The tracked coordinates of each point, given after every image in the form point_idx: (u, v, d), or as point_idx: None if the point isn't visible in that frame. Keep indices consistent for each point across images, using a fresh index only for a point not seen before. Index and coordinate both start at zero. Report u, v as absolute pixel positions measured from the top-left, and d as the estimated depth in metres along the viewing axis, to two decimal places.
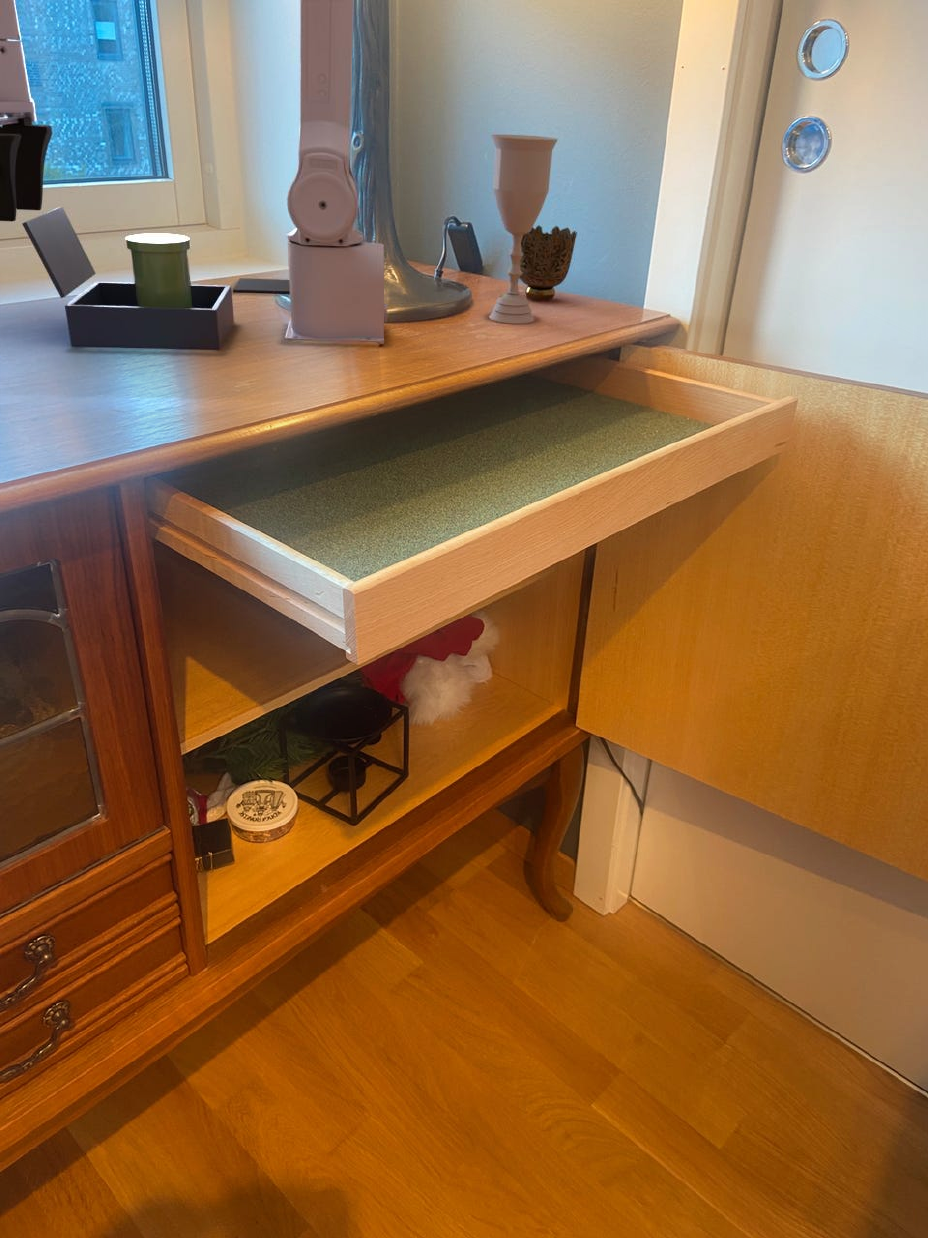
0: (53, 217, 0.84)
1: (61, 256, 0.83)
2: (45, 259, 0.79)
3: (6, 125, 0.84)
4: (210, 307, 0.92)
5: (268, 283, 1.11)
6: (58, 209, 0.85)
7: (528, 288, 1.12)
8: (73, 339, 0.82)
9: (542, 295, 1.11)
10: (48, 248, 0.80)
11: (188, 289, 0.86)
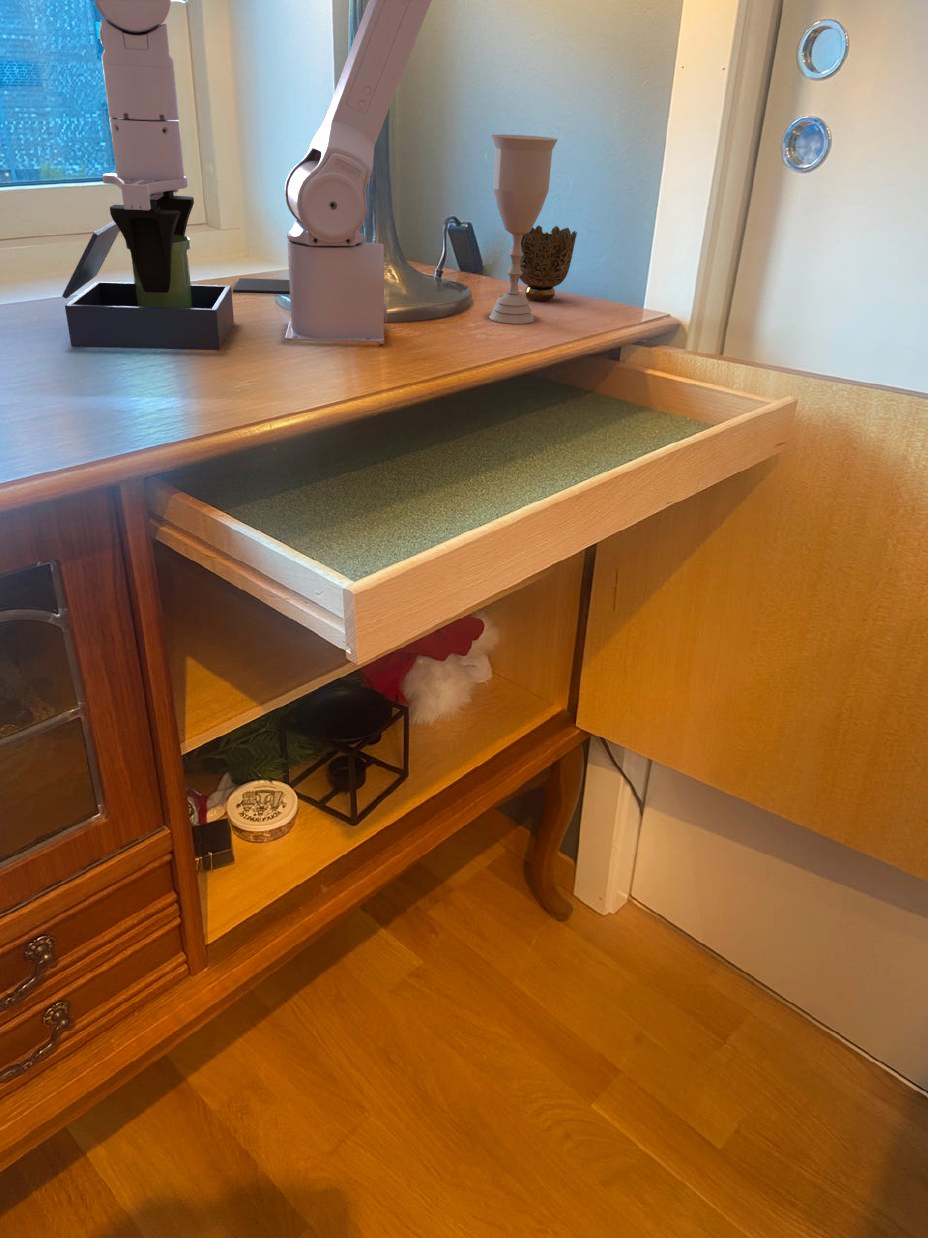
0: (114, 228, 0.85)
1: (91, 262, 0.83)
2: (81, 266, 0.80)
3: None
4: (210, 307, 0.92)
5: (268, 283, 1.11)
6: None
7: (528, 288, 1.12)
8: (73, 339, 0.82)
9: (542, 295, 1.11)
10: (90, 256, 0.81)
11: (188, 289, 0.86)
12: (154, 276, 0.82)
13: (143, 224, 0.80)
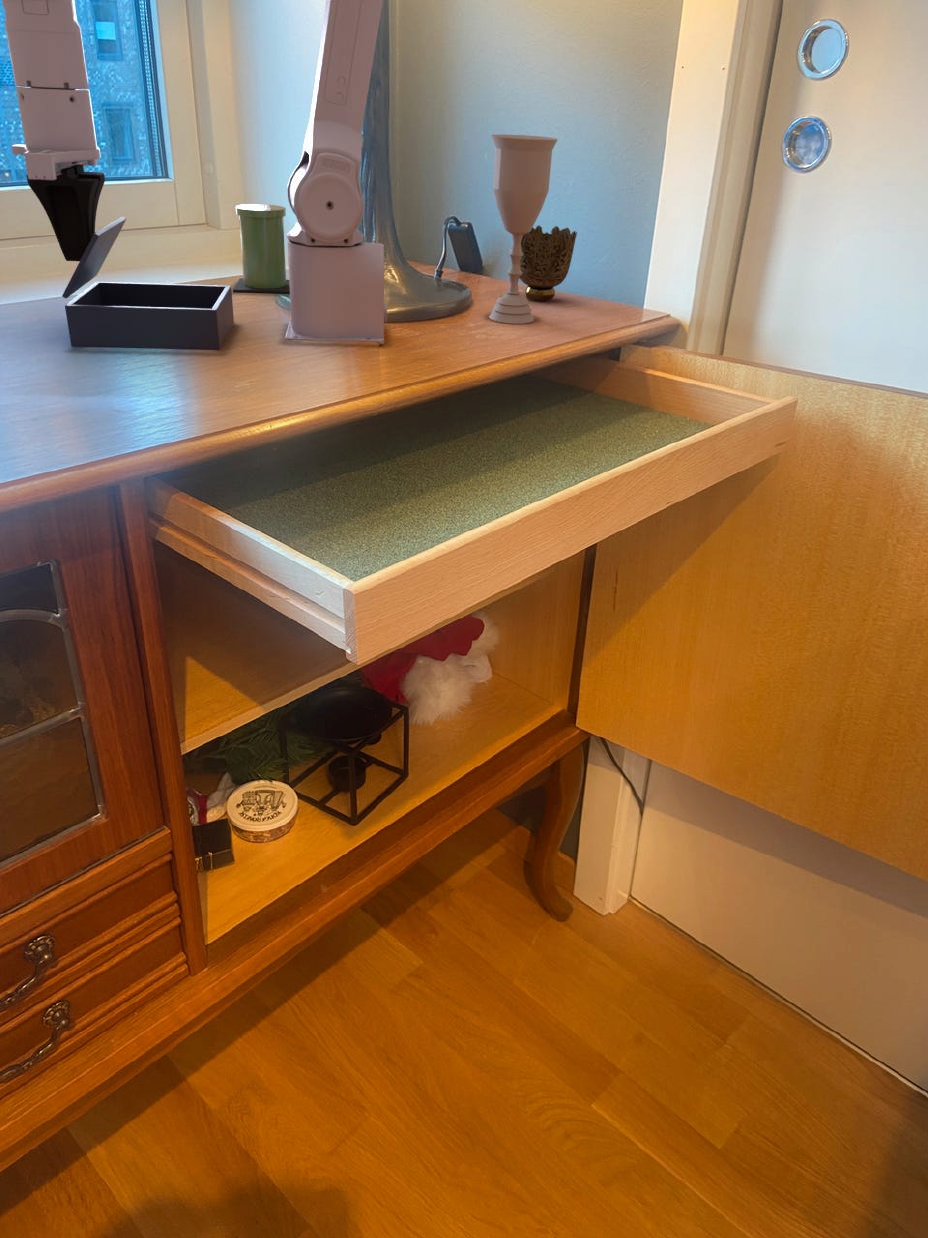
0: (114, 229, 0.85)
1: (92, 263, 0.83)
2: (82, 266, 0.80)
3: None
4: (210, 307, 0.92)
5: None
6: (122, 221, 0.86)
7: (528, 288, 1.12)
8: (73, 339, 0.82)
9: (542, 295, 1.11)
10: (91, 257, 0.81)
11: (283, 248, 1.08)
12: (75, 245, 0.83)
13: (62, 192, 0.81)
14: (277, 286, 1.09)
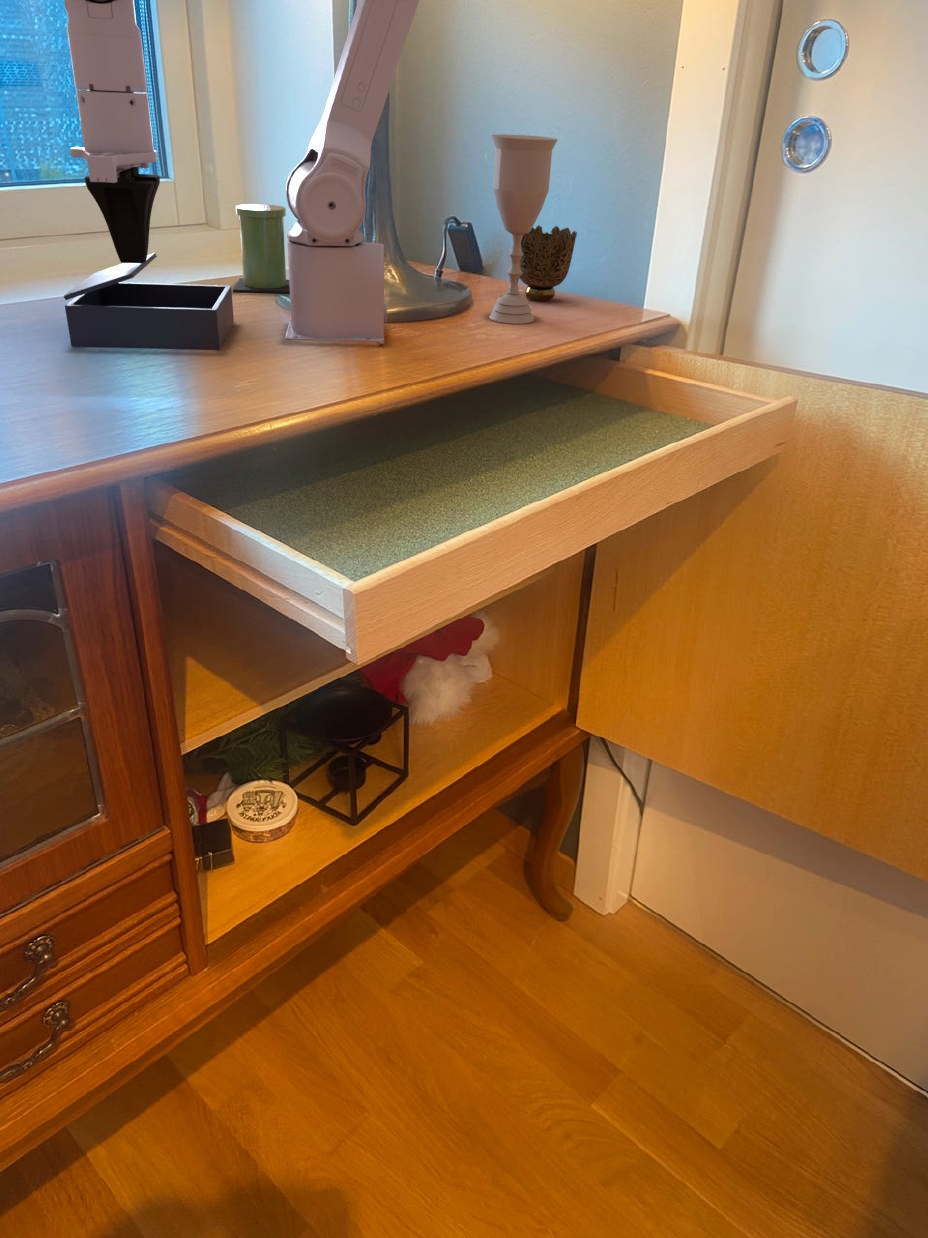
0: None
1: None
2: (99, 288, 0.81)
3: None
4: (210, 307, 0.92)
5: None
6: None
7: (528, 288, 1.12)
8: (73, 339, 0.82)
9: (542, 295, 1.11)
10: None
11: (283, 248, 1.08)
12: (130, 247, 0.83)
13: (118, 195, 0.81)
14: (277, 286, 1.09)
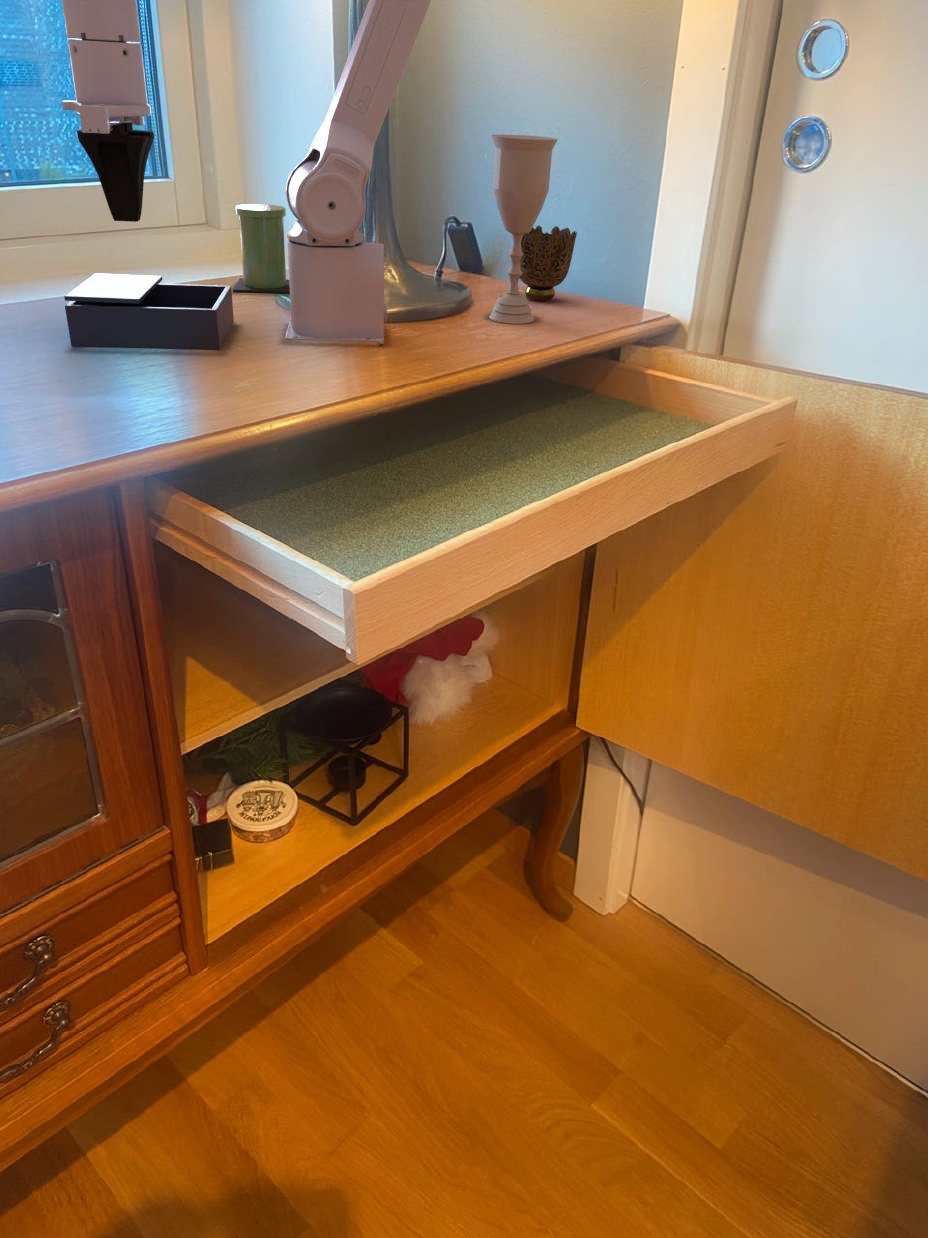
0: None
1: None
2: (103, 301, 0.81)
3: None
4: (210, 307, 0.92)
5: None
6: None
7: (528, 288, 1.12)
8: (73, 339, 0.82)
9: (542, 295, 1.11)
10: None
11: (283, 248, 1.08)
12: (123, 204, 0.81)
13: (111, 150, 0.79)
14: (277, 286, 1.09)
